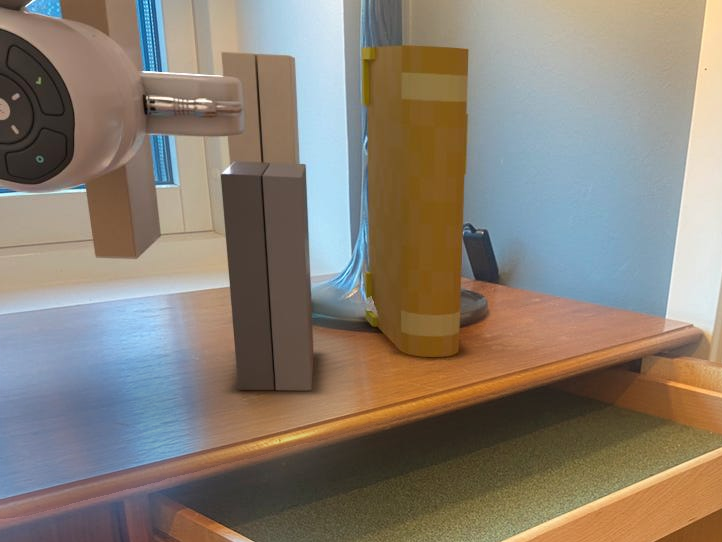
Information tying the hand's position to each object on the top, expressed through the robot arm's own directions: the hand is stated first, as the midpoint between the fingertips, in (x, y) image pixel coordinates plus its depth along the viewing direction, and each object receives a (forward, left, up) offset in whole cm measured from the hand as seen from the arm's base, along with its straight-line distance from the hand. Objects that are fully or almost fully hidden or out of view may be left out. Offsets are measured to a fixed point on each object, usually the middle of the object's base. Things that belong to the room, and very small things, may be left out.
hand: (114, 96), depth 73 cm
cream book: (0, -1, -10) cm, 11 cm away
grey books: (+11, -1, -20) cm, 23 cm away
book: (+24, +13, -21) cm, 34 cm away
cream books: (+10, +25, -20) cm, 34 cm away
